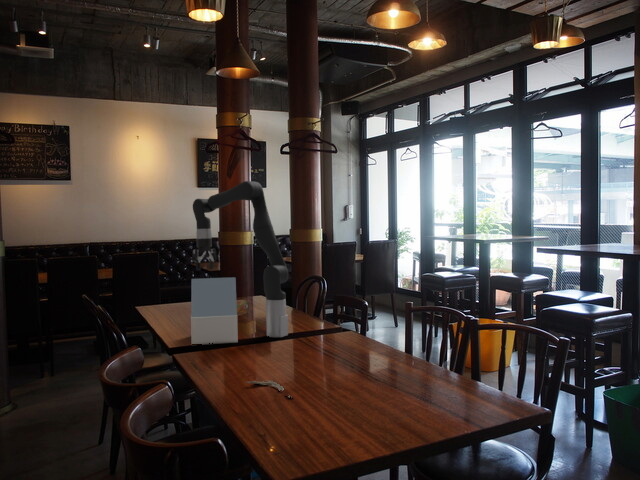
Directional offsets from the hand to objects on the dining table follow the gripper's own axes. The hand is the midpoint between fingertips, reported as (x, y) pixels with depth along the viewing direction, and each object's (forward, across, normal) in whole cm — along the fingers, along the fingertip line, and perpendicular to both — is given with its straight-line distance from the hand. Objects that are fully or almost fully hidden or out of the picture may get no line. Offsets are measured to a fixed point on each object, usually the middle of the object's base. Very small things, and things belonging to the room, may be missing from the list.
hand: (205, 269), depth 256 cm
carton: (+31, -16, -22) cm, 41 cm away
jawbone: (+36, -55, -88) cm, 110 cm away
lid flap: (+11, -20, -27) cm, 35 cm away
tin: (+28, +31, +8) cm, 43 cm away
